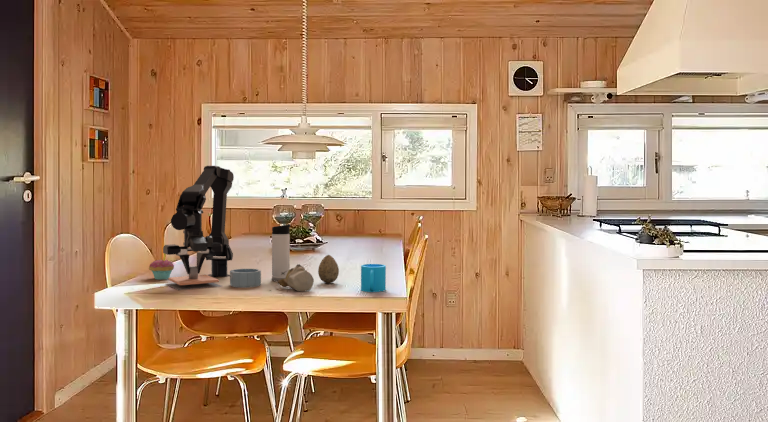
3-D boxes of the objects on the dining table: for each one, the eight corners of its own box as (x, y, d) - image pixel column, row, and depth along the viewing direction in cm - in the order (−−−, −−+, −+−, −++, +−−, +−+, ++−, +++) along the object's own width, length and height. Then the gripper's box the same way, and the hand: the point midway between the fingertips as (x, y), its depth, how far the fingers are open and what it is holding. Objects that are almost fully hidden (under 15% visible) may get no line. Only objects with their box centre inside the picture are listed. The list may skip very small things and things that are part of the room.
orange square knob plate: (168, 279, 241) (168, 265, 241) (205, 276, 248) (205, 263, 248) (180, 285, 230) (180, 270, 230) (218, 282, 237) (218, 267, 237)
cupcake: (179, 278, 256) (178, 245, 255) (164, 281, 248) (164, 247, 247) (159, 277, 259) (158, 244, 258) (143, 280, 251) (143, 246, 250)
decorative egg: (320, 285, 243) (320, 256, 242) (316, 282, 250) (316, 253, 249) (340, 284, 245) (340, 255, 244) (336, 281, 252) (336, 253, 251)
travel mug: (287, 281, 250) (287, 225, 249) (269, 281, 251) (269, 224, 250) (292, 279, 256) (292, 223, 255) (275, 278, 257) (275, 223, 256)
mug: (362, 287, 239) (362, 263, 238) (386, 288, 238) (386, 264, 238) (358, 294, 227) (358, 268, 226) (384, 294, 226) (384, 269, 226)
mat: (164, 284, 241) (164, 283, 241) (207, 281, 250) (207, 280, 250) (178, 291, 229) (178, 290, 229) (222, 287, 237) (222, 286, 237)
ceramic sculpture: (290, 266, 225) (274, 263, 238) (291, 293, 225) (274, 289, 238) (321, 264, 230) (304, 262, 244) (321, 291, 230) (304, 287, 244)
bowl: (226, 285, 241) (226, 269, 241) (253, 282, 247) (253, 267, 247) (237, 289, 233) (237, 273, 233) (265, 286, 238) (265, 271, 238)
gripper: (172, 230, 226) (172, 279, 227) (228, 228, 236) (228, 274, 237) (162, 228, 235) (162, 274, 236) (216, 226, 246) (216, 270, 247)
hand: (193, 273), depth 239 cm, fingers closed on orange square knob plate, 3 cm apart
